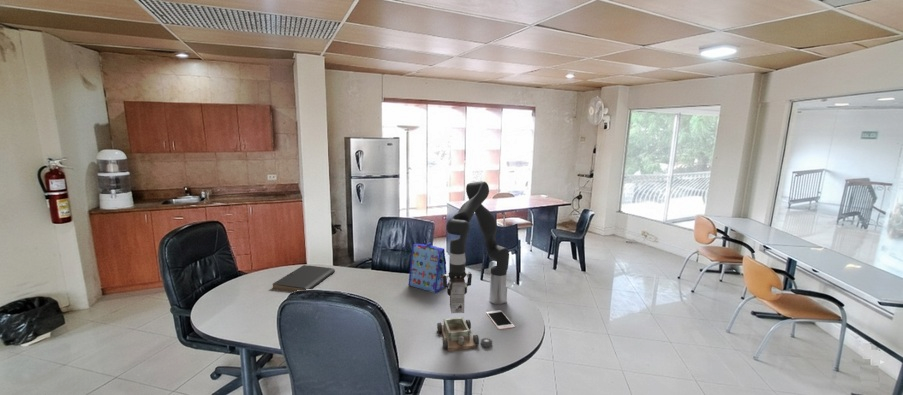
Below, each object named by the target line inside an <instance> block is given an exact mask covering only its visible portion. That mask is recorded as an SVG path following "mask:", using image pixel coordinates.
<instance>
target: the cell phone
mask: <svg viewBox="0 0 903 395" xmlns="http://www.w3.org/2000/svg"><path fill="white" fill-rule="evenodd" d="M485 314H486V315H487V317H488V318H489V319H490V320H491V321H492V323H493V324H494V326H496V328H497V330H500V331H501V330H507V329H514V328H516V327H515V325H514V324H513V322H512V321H511V320H510V318H508V317H507V315H506V314H505V313H504V312H503V311H502V310H501V309H500V310H492V311H491V310H490V311H486V312H485Z"/></svg>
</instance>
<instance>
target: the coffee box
mask: <svg viewBox="0 0 903 395" xmlns="http://www.w3.org/2000/svg"><path fill="white" fill-rule="evenodd" d="M449 280H450V282H451V287H450V288H451V296H449V308H450V313H451V314H465V299H466V298H465V296H466V294H465V283H466V281H465V278H463V279H460V278H456V279H453V278H452V279H450V278H449Z"/></svg>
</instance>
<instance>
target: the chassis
mask: <svg viewBox="0 0 903 395" xmlns="http://www.w3.org/2000/svg"><path fill="white" fill-rule="evenodd" d="M436 326H437V327H436V330H437V333H441V335H442V348H443V349H444V350H445V349H447V351H448V352H452V351H453V352H455V351H462V350H471V349H472V350H473V349H476V348H477V346H478V345H480V339H479V338H480V337H479V335H478V334H473V336H472V334H471V330H470V329H471V328H472V324H471V320H470V319H466V320H465V318H464V317H453V318H444V319H443V324H442V322H437V325H436Z"/></svg>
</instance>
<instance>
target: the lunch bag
mask: <svg viewBox="0 0 903 395" xmlns="http://www.w3.org/2000/svg"><path fill="white" fill-rule="evenodd" d="M412 245H413V246H412V250H411V257H410V266H409V276H408V285H409V286H411V287H414V288H418V289H420V290H424V291H427V292H430V293H433V294H437V293H438V292H439V291H441V290H442V289H445V288H444V286H443V274H445V275H446V274H447V259H446V254H445V248H442V247H438V246H435V245H432V242H427V243H426V244H423V243H414V244H412ZM446 284H448V278H447V279H446Z"/></svg>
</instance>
